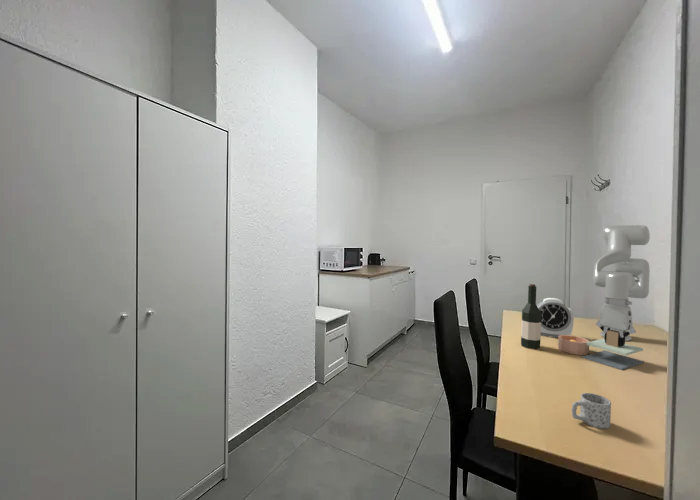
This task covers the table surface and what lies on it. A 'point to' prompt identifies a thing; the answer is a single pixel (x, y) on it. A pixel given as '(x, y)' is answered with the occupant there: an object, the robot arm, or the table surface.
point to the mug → (593, 410)
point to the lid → (614, 344)
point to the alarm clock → (555, 318)
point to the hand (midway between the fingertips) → (614, 343)
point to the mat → (613, 360)
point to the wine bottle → (531, 321)
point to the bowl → (573, 345)
